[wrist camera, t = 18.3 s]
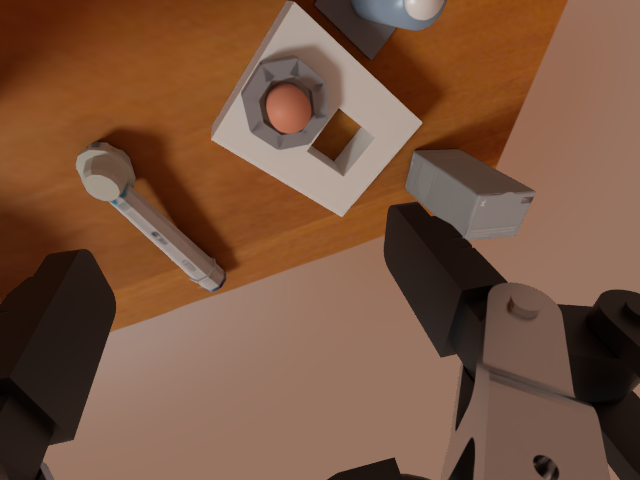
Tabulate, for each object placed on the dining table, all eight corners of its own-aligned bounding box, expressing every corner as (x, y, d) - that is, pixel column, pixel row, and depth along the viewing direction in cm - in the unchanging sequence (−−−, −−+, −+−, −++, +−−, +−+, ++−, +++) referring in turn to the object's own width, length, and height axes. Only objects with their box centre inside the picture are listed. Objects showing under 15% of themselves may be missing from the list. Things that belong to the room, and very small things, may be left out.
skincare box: (402, 187, 54) (457, 247, 41) (413, 143, 49) (477, 195, 37) (450, 186, 55) (515, 242, 43) (464, 143, 51) (541, 192, 39)
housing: (212, 125, 42) (210, 145, 36) (286, 0, 36) (298, 2, 31) (333, 199, 52) (345, 224, 46) (405, 111, 46) (430, 128, 41)
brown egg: (256, 108, 37) (259, 117, 34) (279, 72, 35) (284, 79, 32) (289, 130, 39) (294, 141, 36) (312, 97, 37) (319, 106, 35)
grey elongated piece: (202, 298, 53) (53, 183, 35) (200, 267, 57) (69, 152, 39) (231, 284, 52) (96, 160, 34) (227, 253, 57) (107, 130, 39)
